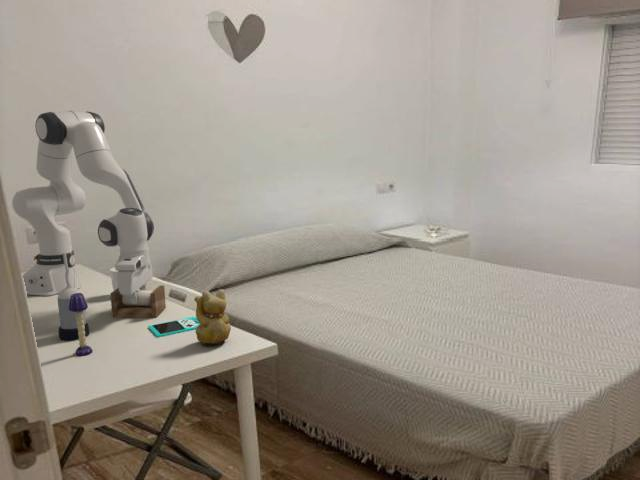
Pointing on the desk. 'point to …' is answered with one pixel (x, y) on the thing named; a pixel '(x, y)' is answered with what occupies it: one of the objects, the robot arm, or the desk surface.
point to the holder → (139, 311)
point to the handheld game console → (174, 326)
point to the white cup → (114, 278)
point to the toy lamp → (80, 322)
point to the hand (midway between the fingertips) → (138, 300)
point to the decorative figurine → (212, 318)
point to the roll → (139, 298)
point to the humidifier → (68, 318)
